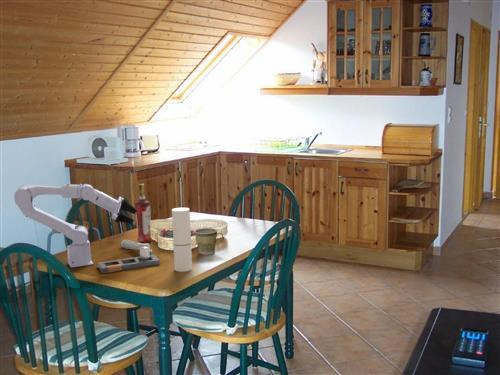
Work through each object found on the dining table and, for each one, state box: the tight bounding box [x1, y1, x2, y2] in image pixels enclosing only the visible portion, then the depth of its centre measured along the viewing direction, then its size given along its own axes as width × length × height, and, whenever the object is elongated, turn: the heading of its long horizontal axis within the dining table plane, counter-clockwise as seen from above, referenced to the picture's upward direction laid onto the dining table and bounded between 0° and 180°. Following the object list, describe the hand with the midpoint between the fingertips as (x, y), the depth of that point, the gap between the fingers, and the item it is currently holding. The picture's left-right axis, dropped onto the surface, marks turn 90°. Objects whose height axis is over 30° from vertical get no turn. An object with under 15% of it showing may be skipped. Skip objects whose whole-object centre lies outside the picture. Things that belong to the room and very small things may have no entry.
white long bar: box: [119, 238, 153, 255], centre depth 280 cm, size 5×7×25 cm
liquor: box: [134, 183, 153, 244], centre depth 296 cm, size 7×7×28 cm
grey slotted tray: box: [97, 254, 161, 274], centre depth 260 cm, size 24×9×2 cm, turn 114°
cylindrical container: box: [171, 207, 193, 273], centre depth 252 cm, size 7×7×25 cm
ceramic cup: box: [194, 227, 224, 255], centre depth 276 cm, size 13×10×10 cm
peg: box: [139, 246, 150, 262], centre depth 263 cm, size 4×4×7 cm
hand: (134, 217), depth 267 cm, fingers open, 7 cm apart
